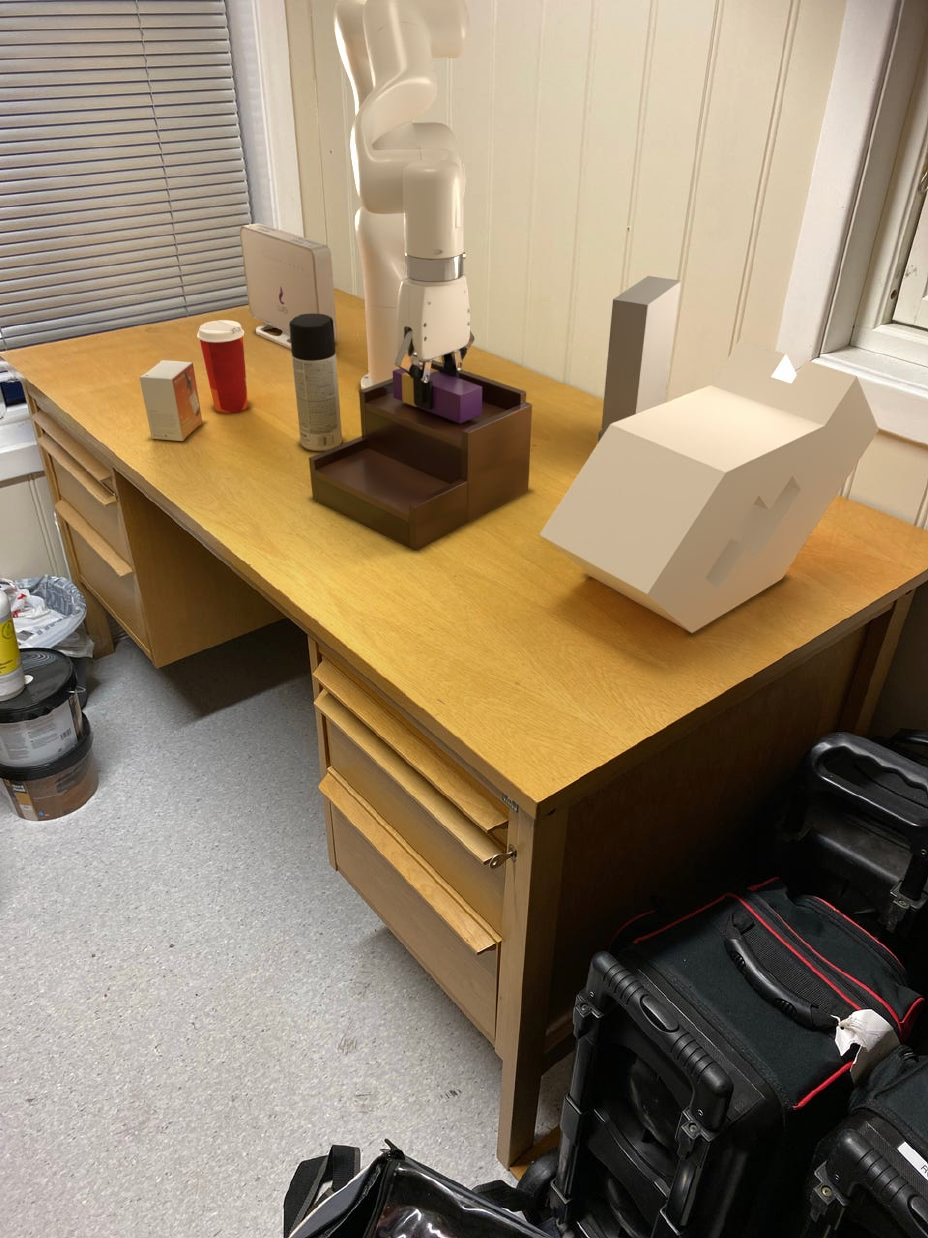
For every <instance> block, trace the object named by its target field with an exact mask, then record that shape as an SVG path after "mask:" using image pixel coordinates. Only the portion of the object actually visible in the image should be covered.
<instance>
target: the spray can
mask: <svg viewBox="0 0 928 1238" xmlns="http://www.w3.org/2000/svg"><path fill="white" fill-rule="evenodd" d="M289 327H290V339H291V342H290V343H291V349H290V350H291V359H292V360H291V361H292V369H293V370H292V371H293V378H294V379H293V380H294V390H295V399H296V409H297V419H298V427H299V428H298V430H299V439H300V443H301V446H302V447H303V449H305V450H307V451H311V452H313V451H314V452H324V451H327V450H329V449H332V448H334V447H336V446H339V445H341V444H342V441H343V432H342V418H341V404H340V392H339V379H338V378H339V375H338V366H337V365H338V364H337V363H338V362H337V351H336V340H335V338H334V326H333V319H332V318H331V317H329V316H327V315H324V314H314V313H311V314H301V315H299V316H297V317H295V318H293V319H292V321H290V323H289Z"/></svg>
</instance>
